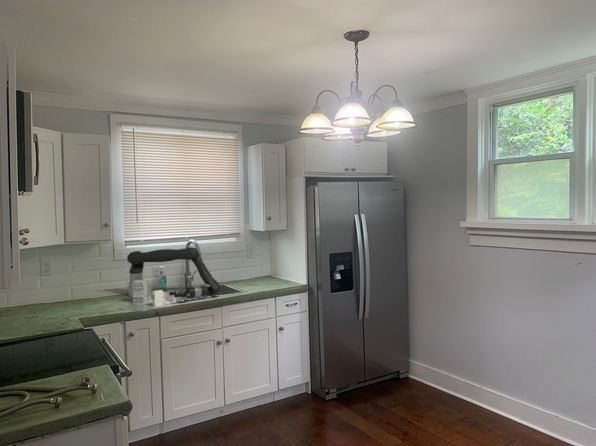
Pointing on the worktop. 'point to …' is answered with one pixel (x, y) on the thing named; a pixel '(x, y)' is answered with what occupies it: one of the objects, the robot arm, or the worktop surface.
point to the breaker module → (157, 298)
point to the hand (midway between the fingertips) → (171, 294)
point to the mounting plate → (137, 307)
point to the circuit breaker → (141, 291)
